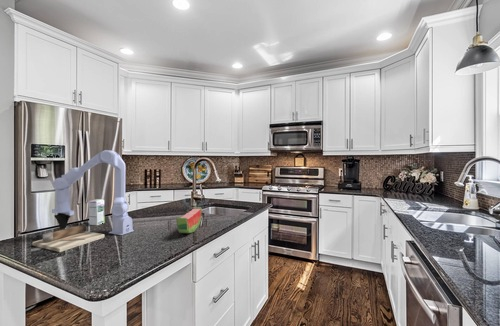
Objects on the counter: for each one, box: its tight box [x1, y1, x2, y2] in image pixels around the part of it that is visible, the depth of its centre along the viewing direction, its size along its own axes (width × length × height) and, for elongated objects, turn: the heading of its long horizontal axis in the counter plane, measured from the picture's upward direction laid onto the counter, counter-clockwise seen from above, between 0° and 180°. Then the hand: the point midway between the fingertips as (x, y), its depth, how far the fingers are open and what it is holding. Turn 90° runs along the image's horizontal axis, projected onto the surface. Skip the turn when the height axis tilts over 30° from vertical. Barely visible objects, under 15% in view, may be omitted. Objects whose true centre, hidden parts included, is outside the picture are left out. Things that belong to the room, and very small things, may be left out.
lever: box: [42, 223, 87, 242], centre depth 115 cm, size 19×4×3 cm, turn 158°
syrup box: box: [88, 198, 106, 226], centre depth 143 cm, size 6×6×14 cm
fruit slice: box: [176, 206, 202, 234], centre depth 130 cm, size 26×6×10 cm, turn 175°
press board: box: [32, 230, 105, 253], centre depth 114 cm, size 20×20×2 cm
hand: (63, 228), depth 120 cm, fingers closed
